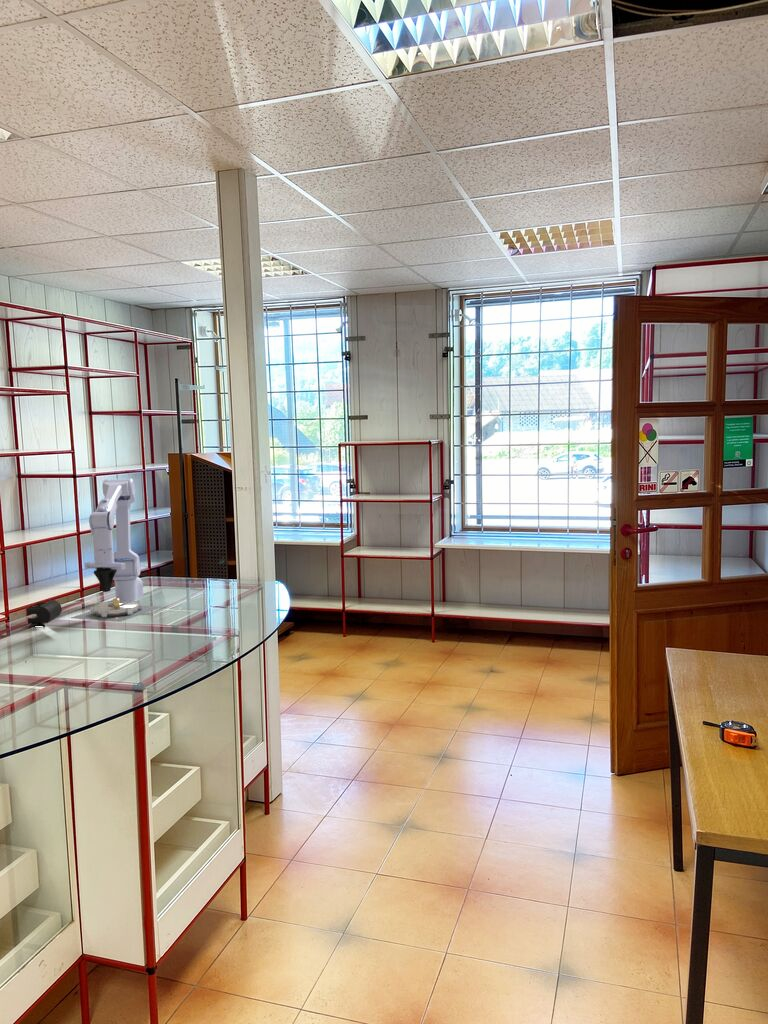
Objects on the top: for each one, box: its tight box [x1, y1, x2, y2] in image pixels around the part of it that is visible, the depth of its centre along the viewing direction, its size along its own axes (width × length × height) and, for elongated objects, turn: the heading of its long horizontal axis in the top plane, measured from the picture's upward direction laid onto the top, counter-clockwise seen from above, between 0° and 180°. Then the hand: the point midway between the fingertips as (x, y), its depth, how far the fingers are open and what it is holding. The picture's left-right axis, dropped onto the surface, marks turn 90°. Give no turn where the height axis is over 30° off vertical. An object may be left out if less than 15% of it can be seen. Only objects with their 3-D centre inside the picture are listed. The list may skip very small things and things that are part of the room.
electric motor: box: [26, 599, 63, 628], centre depth 230 cm, size 10×7×7 cm
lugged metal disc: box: [90, 597, 143, 617], centre depth 236 cm, size 14×16×5 cm
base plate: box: [70, 605, 161, 622], centre depth 237 cm, size 20×20×2 cm
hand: (106, 591), depth 231 cm, fingers closed
